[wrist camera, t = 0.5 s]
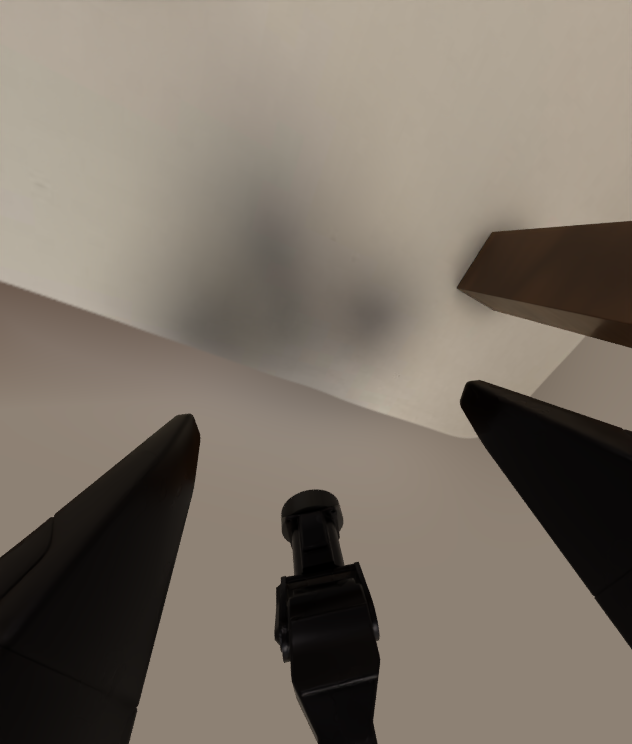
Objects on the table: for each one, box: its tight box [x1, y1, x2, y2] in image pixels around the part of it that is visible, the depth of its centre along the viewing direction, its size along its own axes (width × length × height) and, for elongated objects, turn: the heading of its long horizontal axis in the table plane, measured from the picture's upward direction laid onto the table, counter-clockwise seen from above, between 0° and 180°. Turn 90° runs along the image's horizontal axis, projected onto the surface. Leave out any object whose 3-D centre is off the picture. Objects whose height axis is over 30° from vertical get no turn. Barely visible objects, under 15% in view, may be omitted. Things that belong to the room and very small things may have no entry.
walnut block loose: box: [457, 221, 632, 348], centre depth 15 cm, size 4×4×12 cm
